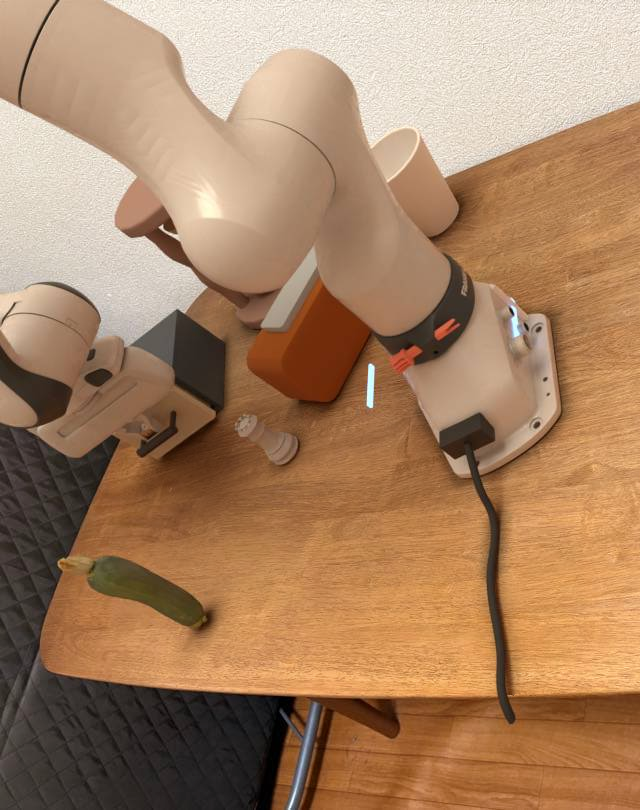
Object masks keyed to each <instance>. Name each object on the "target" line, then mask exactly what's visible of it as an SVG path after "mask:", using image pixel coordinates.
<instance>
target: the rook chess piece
mask: <svg viewBox="0 0 640 810" xmlns="http://www.w3.org/2000/svg"><path fill="white" fill-rule="evenodd" d="M237 420H238V421H240V422H235V424H234V427H235V428H234V430H235V431H236V432H237V434H238V436H239V437H240V438H248V440H249V441H250V442H254V443H256V444H257V445H258V446H259V447H260V448H261V449H263V450H264V453H265V454H266V456H267V458H268V459H269V461H271V462H273V463H274V465H277V466H282V465H285V464H288V463H289V462H291V460H292V459H293V458H294V457H295V455H296V454H297V452H298V450H299V440H298V438H297V437H296V436H295V435H292V434H291V433H289V432H286V431H276V430H274V429H272V428H269V427H267V426H266V425H265V423H264V422H262V421H259V420H258V417H257V415H255V414H247V413H243V415H242V416H239V418H238V419H237Z"/></svg>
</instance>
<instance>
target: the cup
mask: <svg viewBox="0 0 640 810" xmlns="http://www.w3.org/2000/svg"><path fill="white" fill-rule="evenodd" d="M370 148H371V150H372V152H373V154H374V157H375V159H376V161H377V163H378V165H379V167H380V170H381V172H382V174H383V176H384V178H385V180H386V181H387V183H388V185H389V187H390V189H391V191H392V193H393V194H394V196H395V198H396V199H397V201H398V203H399V204H400V206H401V207H402V209H403V210H404V211H405V212H406V214H407V215H408V216H409V217H410V219H411V220H412V221H413V222H414V223H415V224H416V225H417V226H418V228H419V229H420V230H421V231H422V232H423V233H424V234H425V235H426V236H427V238H430V237H431V238H432V237H435V236H438V235H440V234H442V233H443V232H444V231H446V230H447V229H449V227H451V225H452V224H453V222H455V220H456V218H457V216H458V214H459V211H460V205H459V203H458V201H457V199H456V197H455V196H454V193H453V192H452V190H451V188H450V186H449V184H448V183H447V180H446V178H445V177H444V175H443V174H442V171H441V170H440V168H439V166H438V164H437V163H436V161H435V159H434V157H433V156H432V153H431V151H430V150H429V148H428V146H427V144H426V143H425V141H424V139H423V137H422V135H421V132H420V130H419V129H418V128H416V127H415V126H412V125H403V126H399V127H397V128H395V129H392V130H390V131H389V132H387V133H386V134H384V135H382V137H380V138H379V139H377V140H376V141H375V142H374V143H373V144H372V145H370Z"/></svg>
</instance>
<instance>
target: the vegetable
mask: <svg viewBox="0 0 640 810" xmlns="http://www.w3.org/2000/svg"><path fill="white" fill-rule="evenodd" d="M57 567H58V568H59V569H60V570H61V571H63V572H66V573H67V572H70V573H73V574H76V575H81V576H82V575H83V576H84V575H85V577H86V582H87V584H88V586H89V587H90V588H91V589H92V590H94V591H95V592H97V593H99V594H101V595H104V596H109V597H111V598H118V599H123V600H129V601H133V602H137V603H140V604H143V605H145V606H148V607H150V608H152V609H153V610H155V611H156V612H157V613H160V614H161V615H162V616H165V617H167V618H168V619H170V620H171V621H173V622H176V623H177V624H179V625H181V626H183V627H188V628H189V629H191V630H196V628H200V627H201V626H202V624H203V623H206V622H207V621H208V618H207V615H206V613H205V609H204V607H203V605H202V603H201V602H200V601H199V600H198V599H197V598H196V597H195V596H194V595H192V594H191V593H190V592H189V591H187V590H185V589H184V588H182V587H181V586H179V585H177V584H175V583H173V582H172V581H169V580H168V579H166V578H165V577H162V576H161V575H159V574H158V573H155V572H153V571H151V570H150V569H148V568H146V567H145V566H142V565H141V564H138V563H136V562H134V561H131V560H130V559H126V558H124V557H120V556H115V555H103V556H100V557H97V558H96V559H92V558H91V557H89V556H83V555H73V556H70V555H69V556H67V557H66V558H65V557H62V558H60V559H59V560H58V561H57Z"/></svg>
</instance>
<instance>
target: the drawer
mask: <svg viewBox="0 0 640 810" xmlns="http://www.w3.org/2000/svg"><path fill="white" fill-rule="evenodd" d="M210 407H211V404H210V403H208V402H207V401H205V400H204V399H202V398H201V397H199V396H198V395H196V394H194V393H193V392H191V391H190V390H188V389H187V388H185V387H183V386H182V385H180V384H179V383H177V382H176V381H175V383H174V388H173V390H172V391H171V392H169V393H168V394H166V395H165V396H164V397H162V398H161V399H160V400H158V401H157V402H156V403H154V404H153V405H152V406H150V407H149V408H148V409H149V411H150V413H151V415H152V418H154V419H156V420H157V421H159V422H160V423H161V424H162V430H161V431H160V432H159V433H157V434H156V435H154V436H153V437H152V438H150V439H149V440H148V441H144V440H142V439H140V438H139V437H137V436H136V437H133V436H122V435H119V434H118V433H116V432H115V433H113V434H112V436H113V437H115V438H116V439H119V441H120V440H121V441H122V442H124V443H126V444H127V445H130V446H131V447H133V448H135V449H136V455H137V456H138V457H139V458H141V459H142V458H145V457H146V456H149V457H151V458H153V459H154V460H158V459H160V458H161V457H163V456H164V455H165V454H166V453H168V452H169V451H171V450H172V449H174V448H175V447H176V446H178V445H179V444H181V443H182V442H183V441H185V440H187V438H189V437H190V436H191V435H193V434H194V433H196V432H197V431H199V430H200V429H201V428H203V427H205V425H207V424H209V423H210V422H211V421H212V420H213V419H215V418H216V415H217V414H216V413H217V412H215V411H214V410H212V409H211V408H210ZM128 423H132V424H137V425H142V424H144V421H143V420H141V421H137V420H135V419H132V420H131V421H130V422H128Z"/></svg>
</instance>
